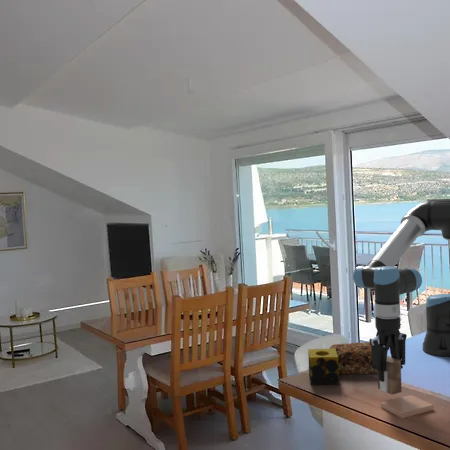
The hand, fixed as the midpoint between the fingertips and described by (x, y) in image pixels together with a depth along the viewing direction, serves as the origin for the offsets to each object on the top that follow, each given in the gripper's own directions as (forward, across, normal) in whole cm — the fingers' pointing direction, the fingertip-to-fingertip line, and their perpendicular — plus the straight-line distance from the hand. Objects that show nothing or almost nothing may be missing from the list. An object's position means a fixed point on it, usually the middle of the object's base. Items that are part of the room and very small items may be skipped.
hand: (389, 389), depth 160 cm
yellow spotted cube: (+4, -7, +25) cm, 26 cm away
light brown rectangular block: (0, 0, 0) cm, 0 cm away
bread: (+4, +9, +27) cm, 29 cm away
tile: (+3, 0, -3) cm, 4 cm away
